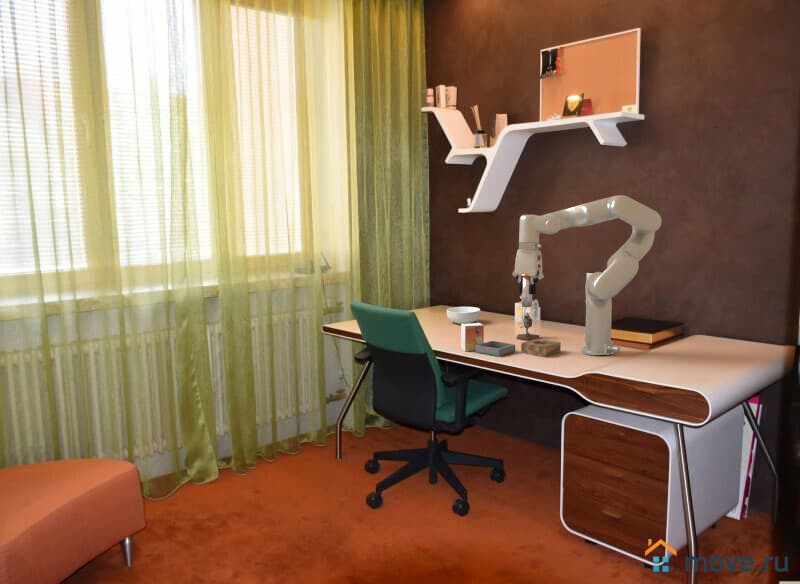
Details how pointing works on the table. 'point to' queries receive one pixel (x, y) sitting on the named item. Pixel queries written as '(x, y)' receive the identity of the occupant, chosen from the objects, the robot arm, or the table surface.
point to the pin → (526, 291)
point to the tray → (495, 348)
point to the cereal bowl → (463, 314)
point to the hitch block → (540, 347)
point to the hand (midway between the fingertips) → (527, 293)
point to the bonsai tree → (527, 324)
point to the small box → (471, 336)
